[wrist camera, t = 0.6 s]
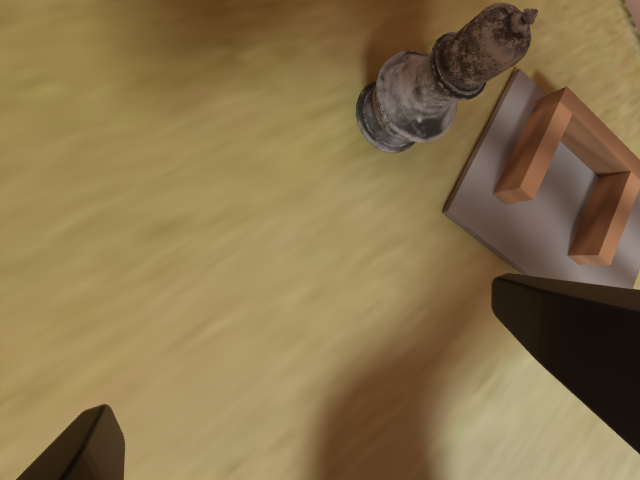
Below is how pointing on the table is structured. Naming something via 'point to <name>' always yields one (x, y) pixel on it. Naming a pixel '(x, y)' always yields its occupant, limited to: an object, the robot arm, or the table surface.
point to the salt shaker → (441, 78)
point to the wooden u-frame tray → (552, 190)
